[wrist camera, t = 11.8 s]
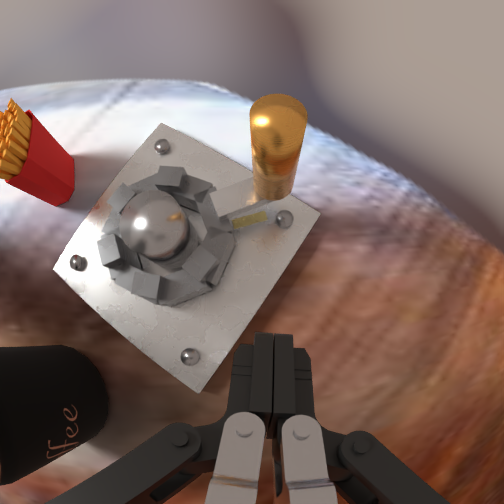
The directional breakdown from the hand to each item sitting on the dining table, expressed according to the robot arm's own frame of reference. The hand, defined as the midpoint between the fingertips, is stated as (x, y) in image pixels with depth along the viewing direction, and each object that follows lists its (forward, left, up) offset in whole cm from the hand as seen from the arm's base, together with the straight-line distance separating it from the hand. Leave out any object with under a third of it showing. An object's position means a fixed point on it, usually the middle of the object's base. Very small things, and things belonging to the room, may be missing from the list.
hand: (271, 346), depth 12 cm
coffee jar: (-18, +13, -16) cm, 27 cm away
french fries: (0, +30, -16) cm, 34 cm away
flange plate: (+2, +12, -16) cm, 20 cm away
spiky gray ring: (+4, +10, -14) cm, 18 cm away
